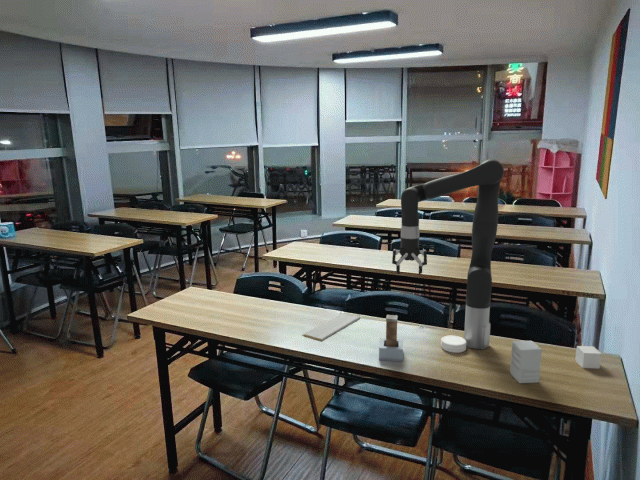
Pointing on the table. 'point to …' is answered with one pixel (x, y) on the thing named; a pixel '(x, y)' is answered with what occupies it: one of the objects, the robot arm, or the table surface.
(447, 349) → the white round disc
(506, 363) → the table surface
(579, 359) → the white cube
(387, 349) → the grey square collar
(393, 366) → the table surface
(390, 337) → the rail post
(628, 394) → the table surface
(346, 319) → the baseboard
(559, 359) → the table surface
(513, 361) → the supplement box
